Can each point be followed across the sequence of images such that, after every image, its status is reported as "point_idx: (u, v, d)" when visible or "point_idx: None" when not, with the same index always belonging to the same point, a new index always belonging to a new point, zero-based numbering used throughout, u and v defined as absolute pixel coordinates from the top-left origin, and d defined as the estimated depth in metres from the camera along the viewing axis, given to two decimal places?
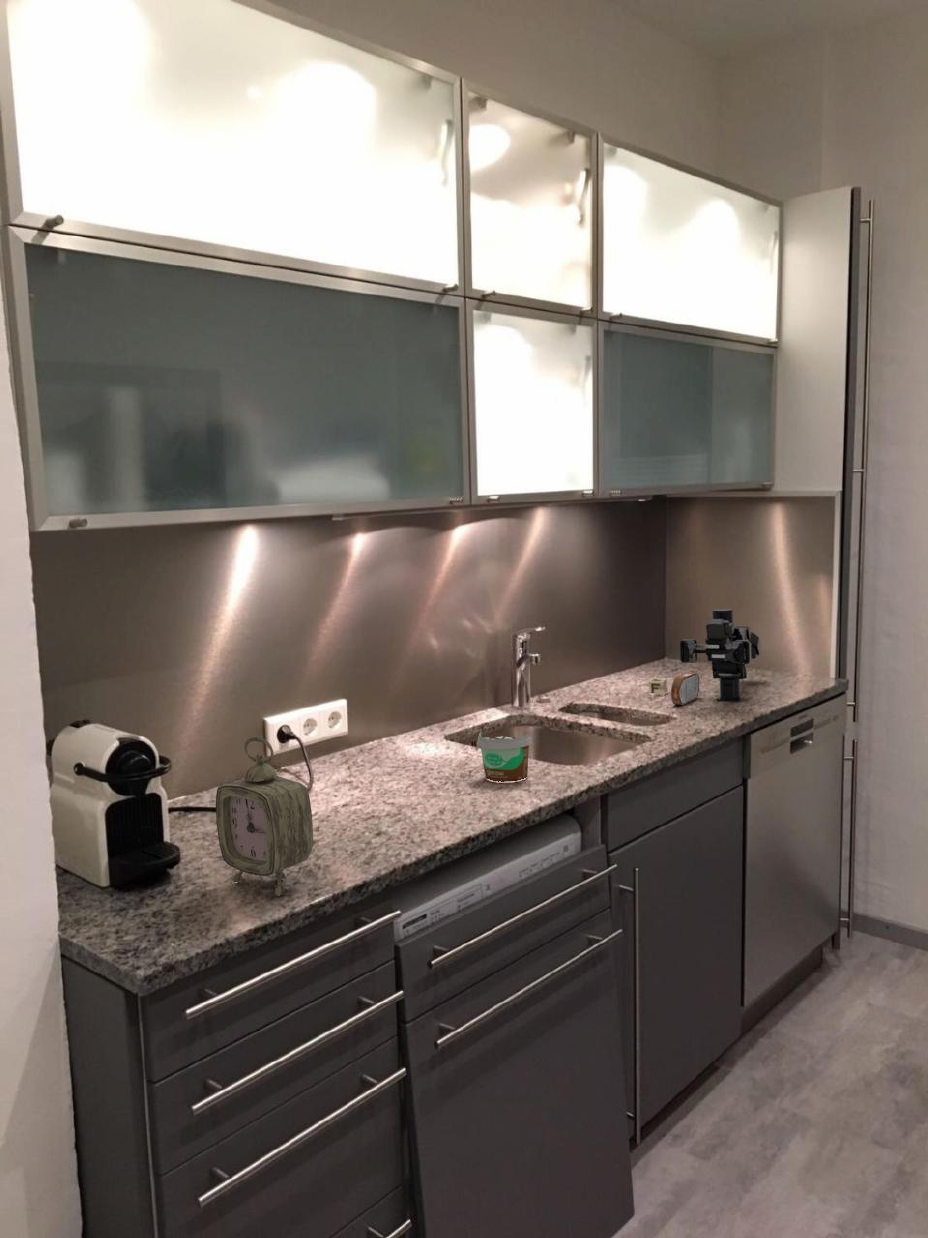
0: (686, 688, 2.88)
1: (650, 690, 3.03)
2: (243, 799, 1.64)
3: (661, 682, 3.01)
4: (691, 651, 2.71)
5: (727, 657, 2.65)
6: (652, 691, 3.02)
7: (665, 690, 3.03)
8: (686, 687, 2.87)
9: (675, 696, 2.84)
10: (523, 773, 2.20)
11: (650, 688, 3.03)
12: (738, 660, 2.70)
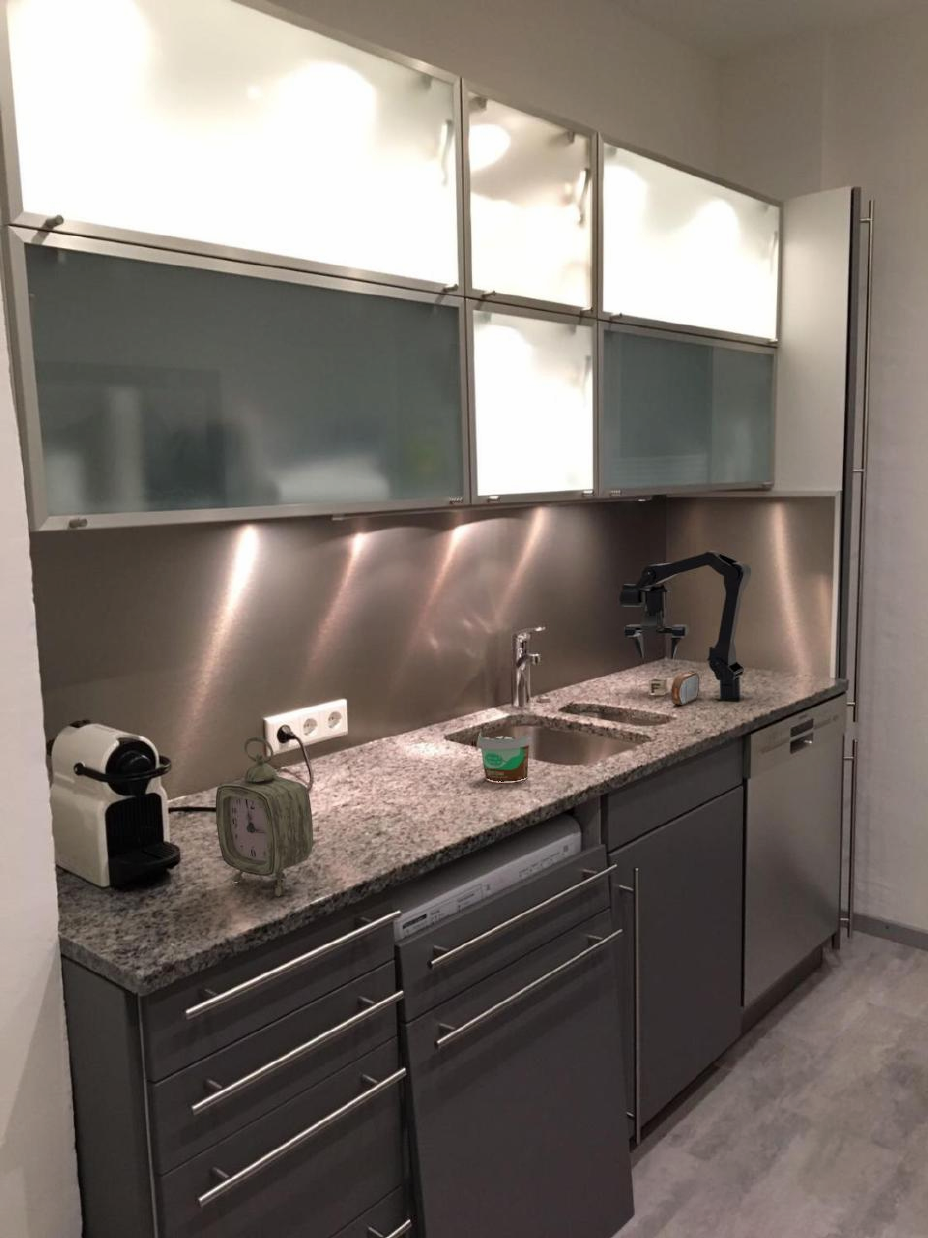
0: (686, 688, 2.88)
1: (650, 690, 3.03)
2: (243, 799, 1.64)
3: (661, 682, 3.01)
4: (640, 652, 3.04)
5: (673, 657, 3.01)
6: (652, 691, 3.02)
7: (665, 690, 3.03)
8: (686, 687, 2.87)
9: (675, 696, 2.84)
10: (523, 773, 2.20)
11: (650, 688, 3.03)
12: None
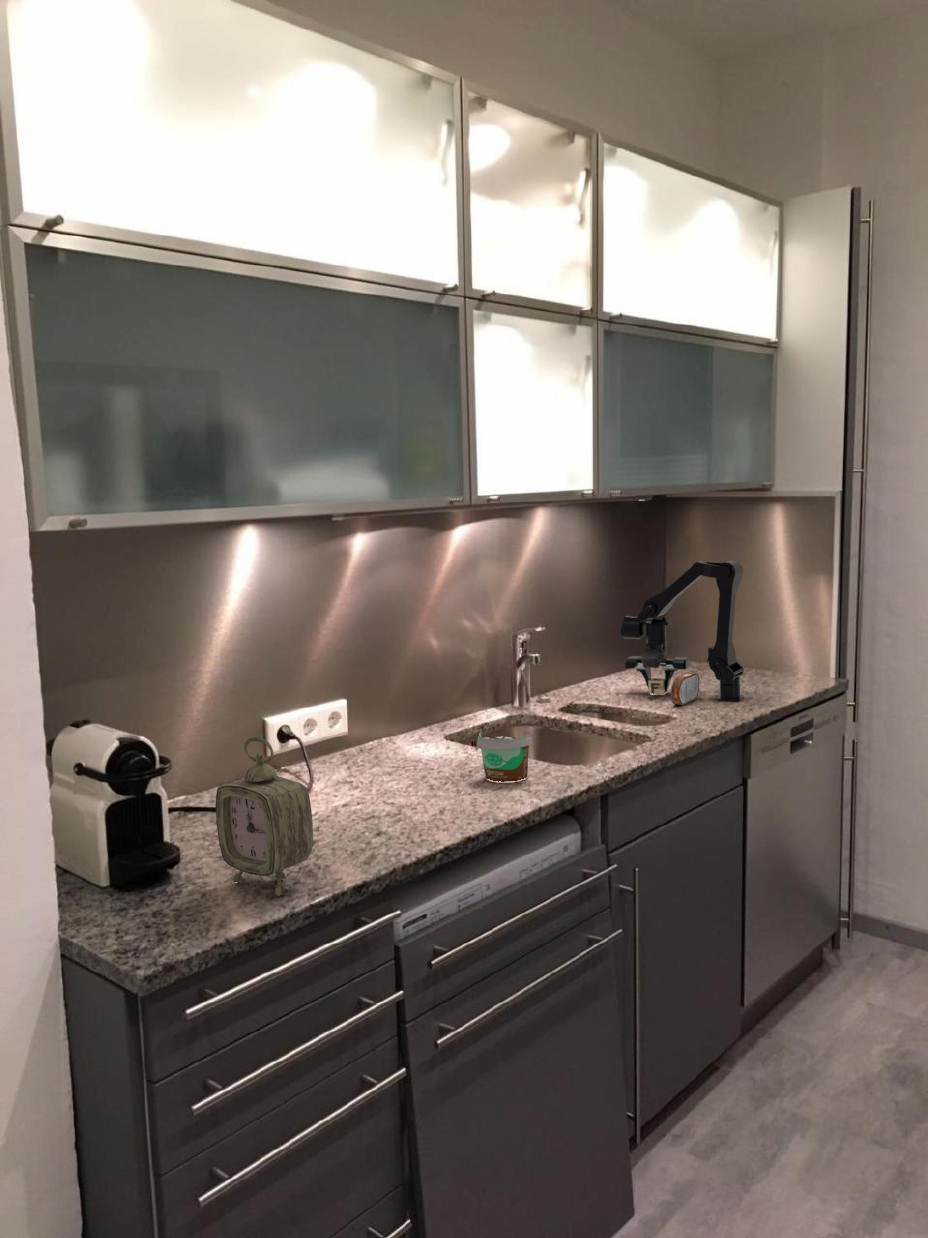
0: (686, 688, 2.88)
1: (650, 690, 3.03)
2: (243, 799, 1.64)
3: (661, 682, 3.01)
4: None
5: (667, 689, 3.03)
6: (652, 691, 3.02)
7: None
8: (686, 687, 2.87)
9: (675, 696, 2.84)
10: (523, 773, 2.20)
11: (650, 688, 3.03)
12: None
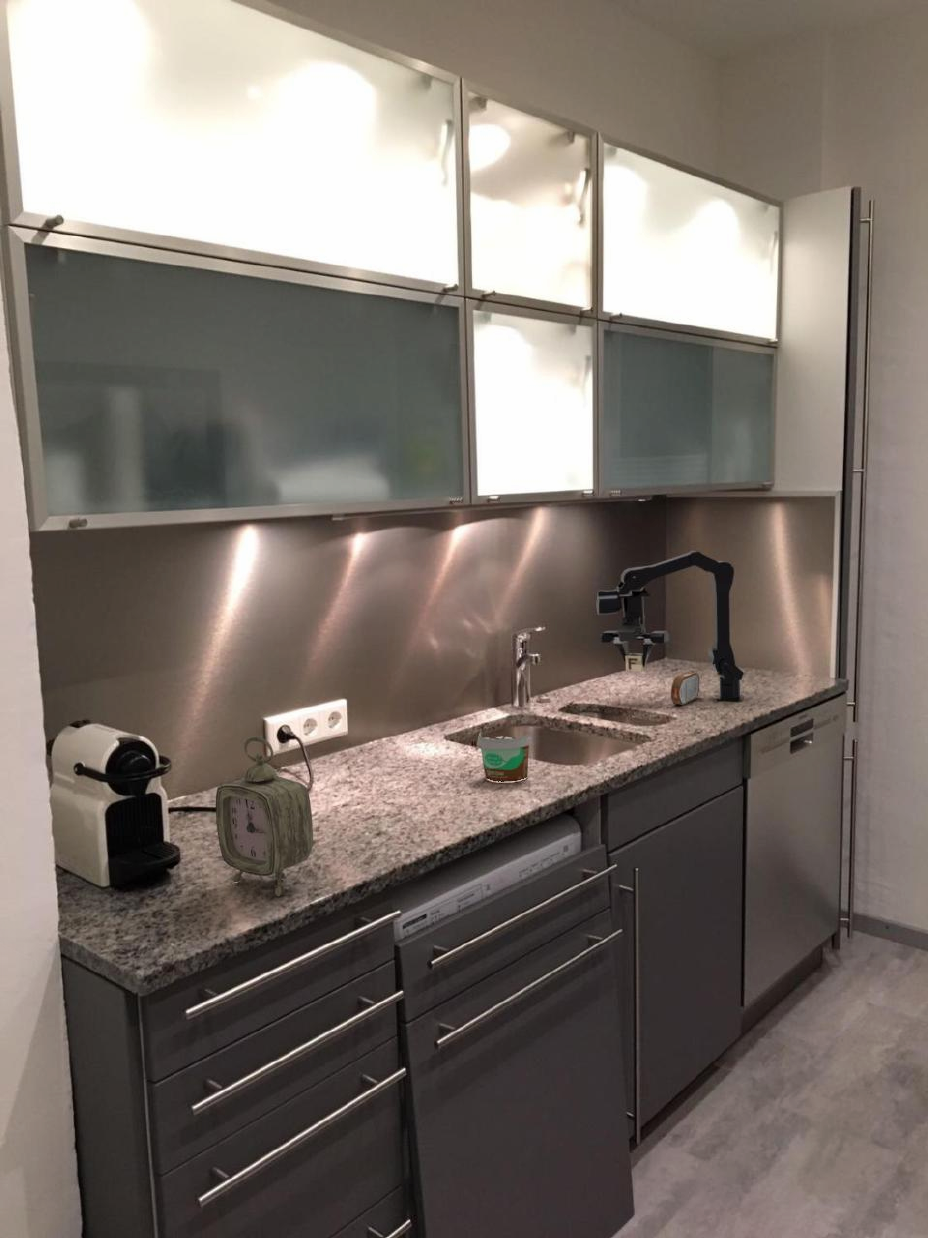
0: (686, 688, 2.88)
1: (627, 665, 2.89)
2: (243, 799, 1.64)
3: (639, 657, 2.87)
4: (625, 659, 2.91)
5: (645, 664, 2.89)
6: (629, 666, 2.89)
7: None
8: (686, 687, 2.87)
9: (675, 696, 2.84)
10: (523, 773, 2.20)
11: (627, 663, 2.89)
12: None
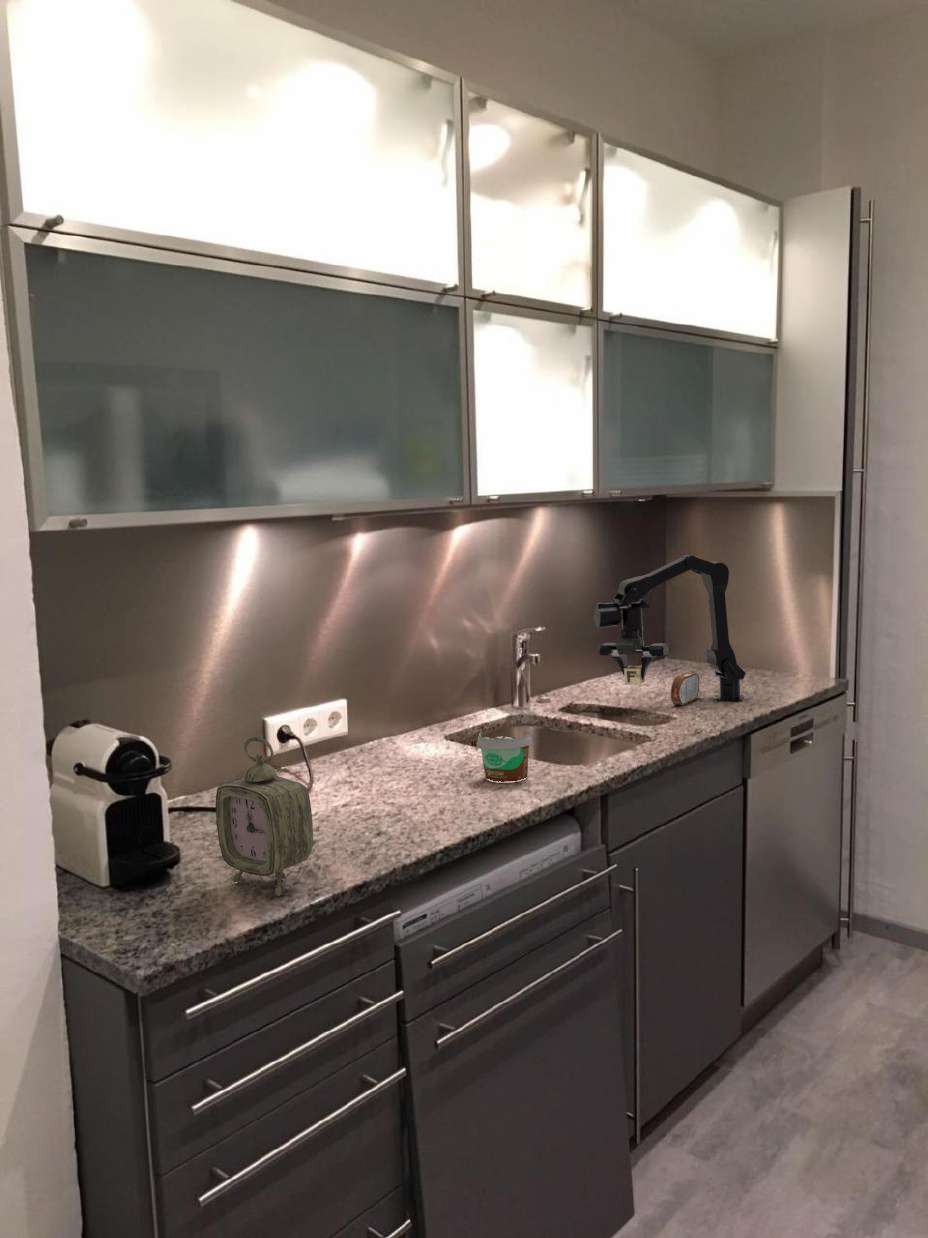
0: (686, 688, 2.88)
1: (626, 678, 2.85)
2: (243, 799, 1.64)
3: (637, 670, 2.83)
4: (623, 672, 2.86)
5: (644, 677, 2.85)
6: (628, 679, 2.84)
7: None
8: (686, 687, 2.87)
9: (675, 696, 2.84)
10: (523, 773, 2.20)
11: (626, 676, 2.84)
12: None
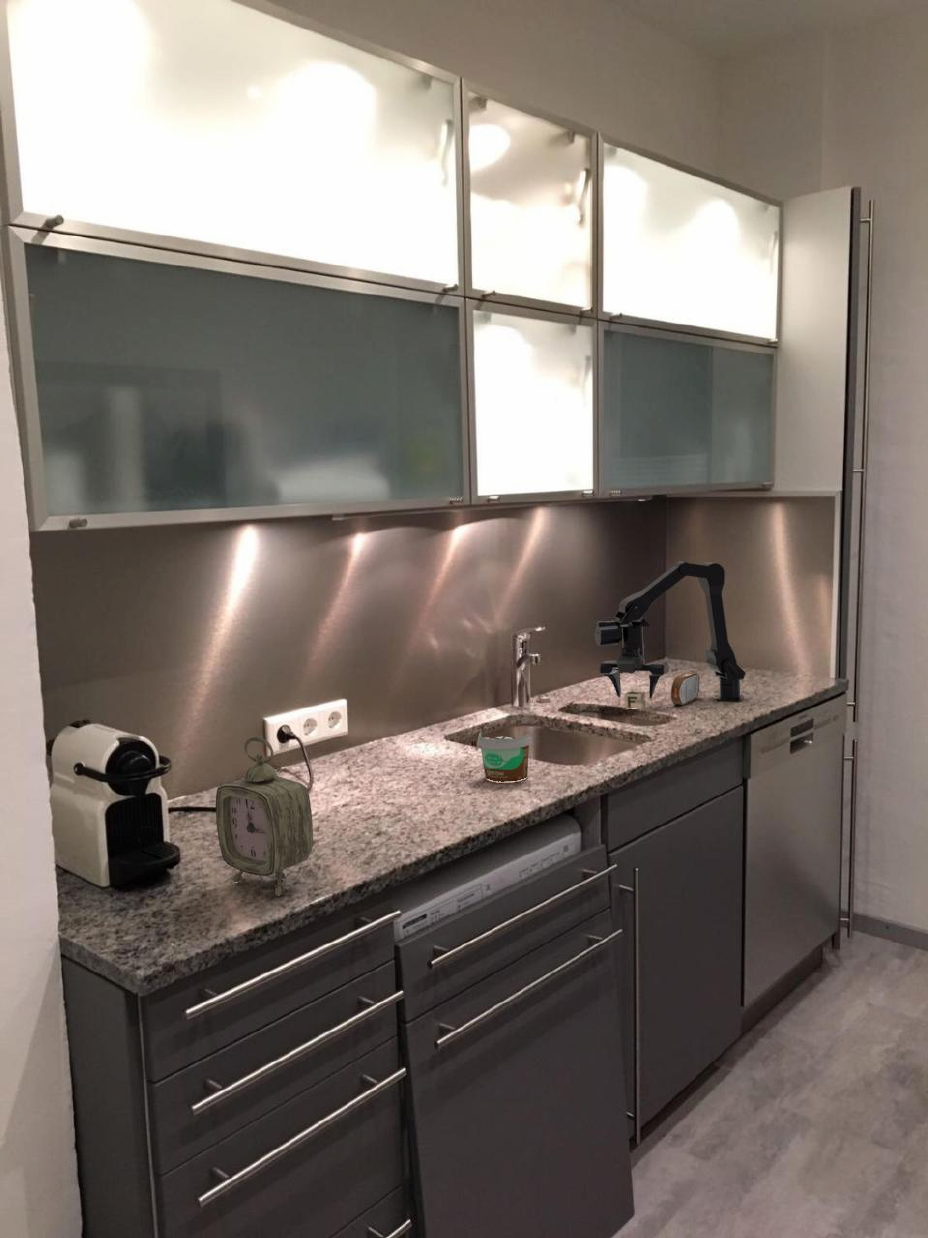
0: (686, 688, 2.88)
1: (627, 703, 2.85)
2: (243, 799, 1.64)
3: (638, 695, 2.84)
4: (617, 690, 2.88)
5: None
6: (629, 705, 2.85)
7: (643, 704, 2.86)
8: (686, 687, 2.87)
9: (675, 696, 2.84)
10: (523, 773, 2.20)
11: (627, 701, 2.85)
12: None
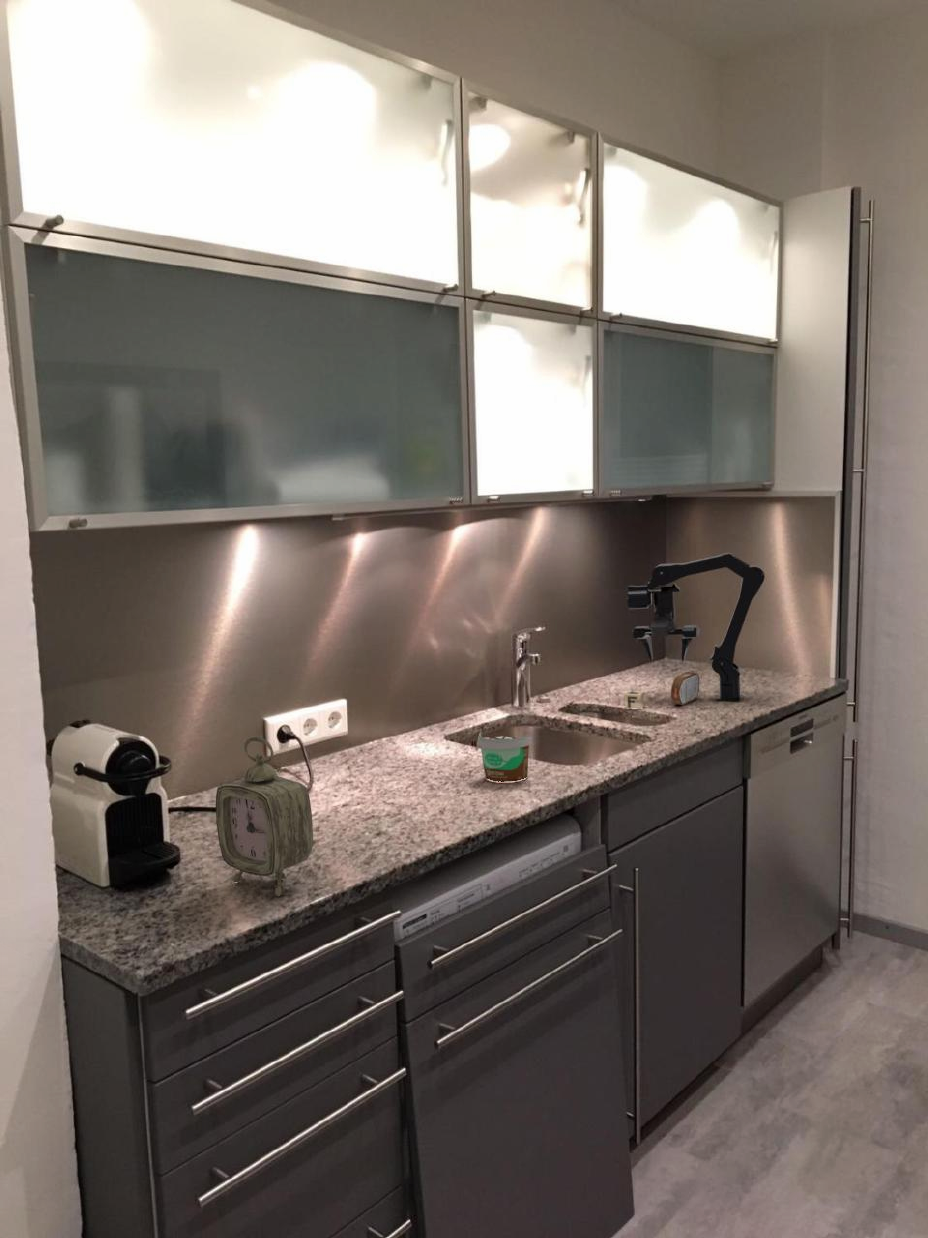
0: (686, 688, 2.88)
1: (627, 703, 2.85)
2: (243, 799, 1.64)
3: (638, 695, 2.84)
4: (649, 654, 2.96)
5: (684, 658, 2.93)
6: (629, 705, 2.85)
7: (643, 704, 2.86)
8: (686, 687, 2.87)
9: (675, 696, 2.84)
10: (523, 773, 2.20)
11: (627, 701, 2.85)
12: None
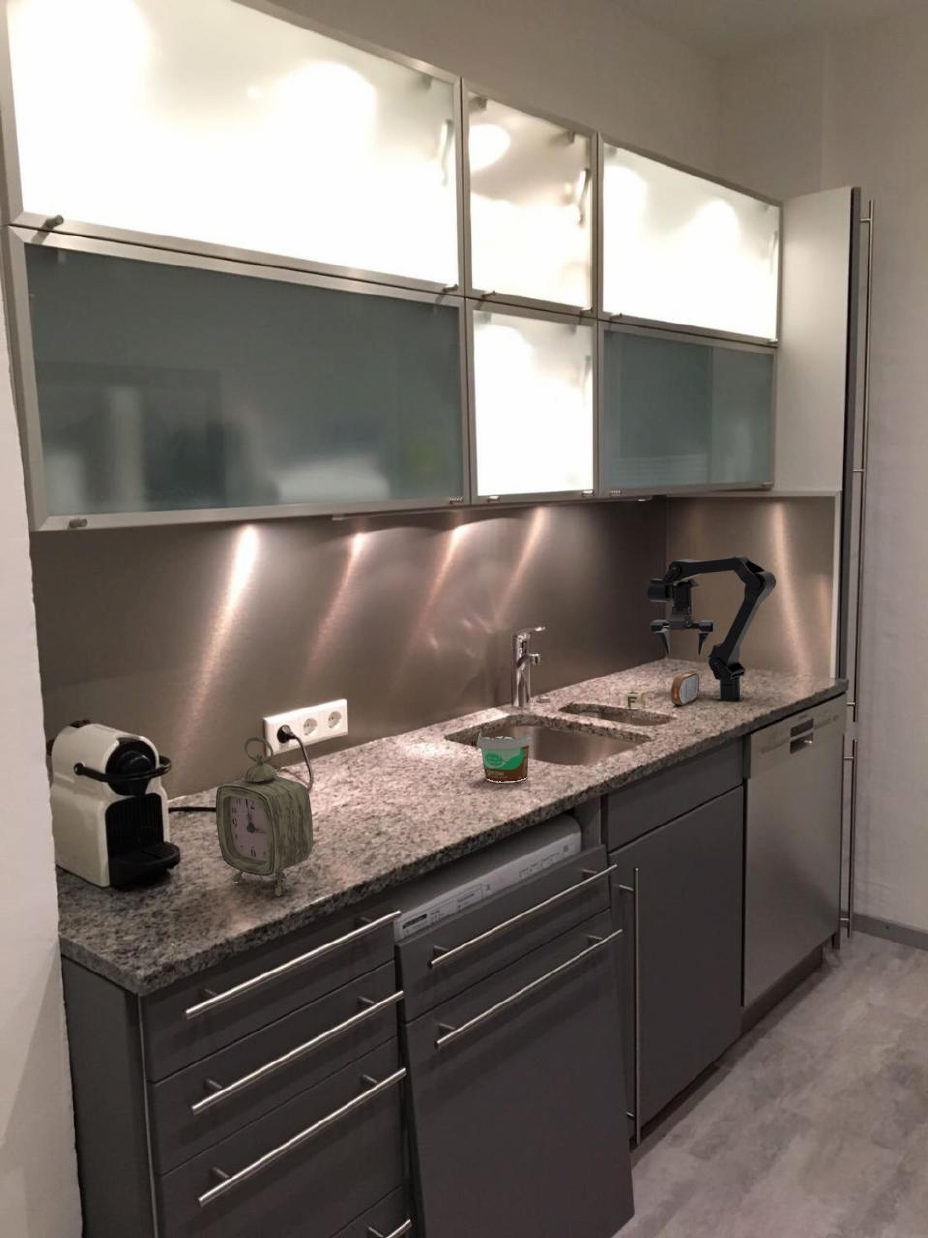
0: (686, 688, 2.88)
1: (627, 703, 2.85)
2: (243, 799, 1.64)
3: (638, 695, 2.84)
4: (666, 647, 3.01)
5: None
6: (629, 705, 2.85)
7: (642, 704, 2.86)
8: (686, 687, 2.87)
9: (675, 696, 2.84)
10: (523, 773, 2.20)
11: (626, 701, 2.85)
12: None
